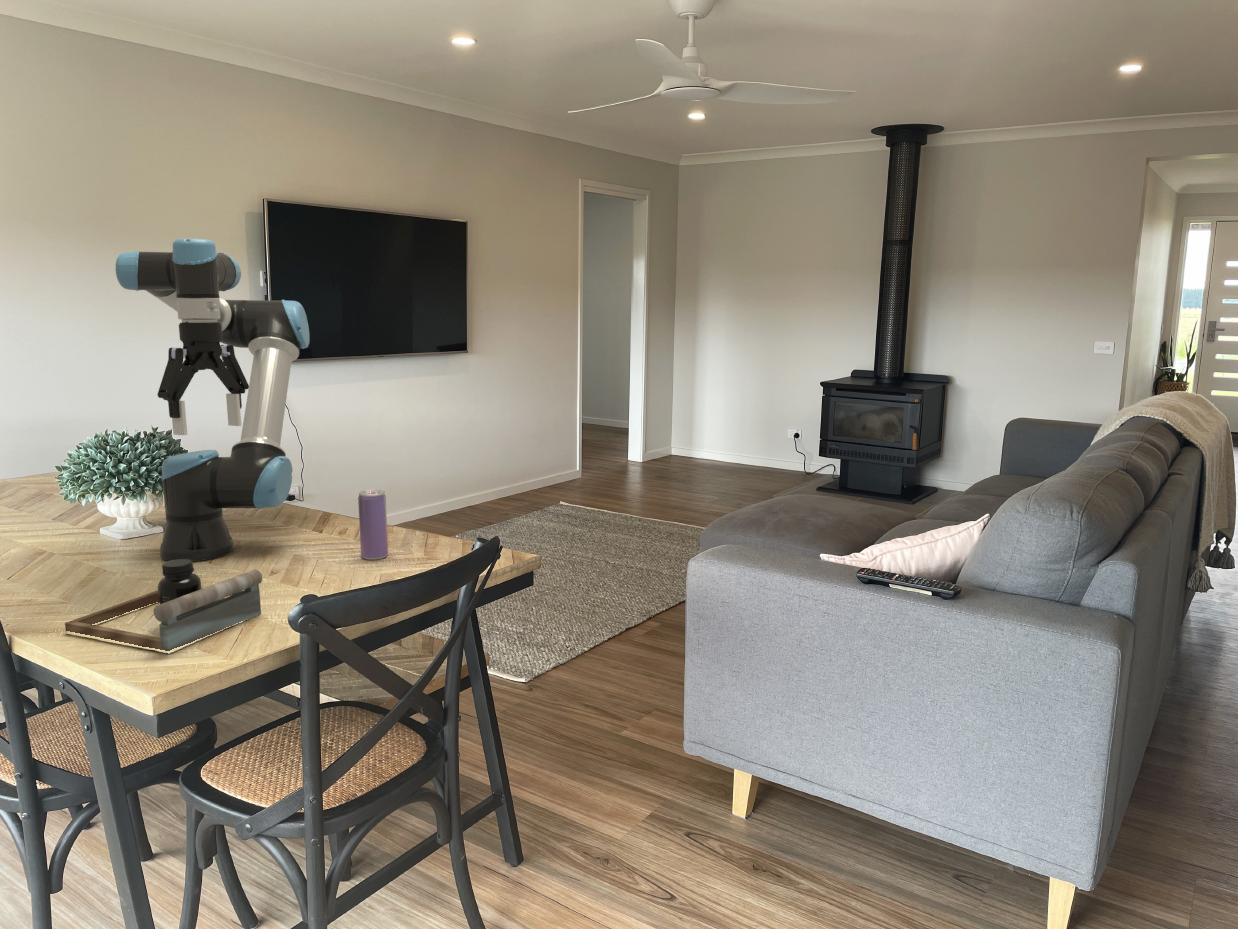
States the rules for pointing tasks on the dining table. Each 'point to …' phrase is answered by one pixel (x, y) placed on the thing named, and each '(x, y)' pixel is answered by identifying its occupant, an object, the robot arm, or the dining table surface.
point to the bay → (189, 625)
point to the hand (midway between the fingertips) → (208, 430)
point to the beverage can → (373, 524)
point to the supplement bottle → (178, 580)
